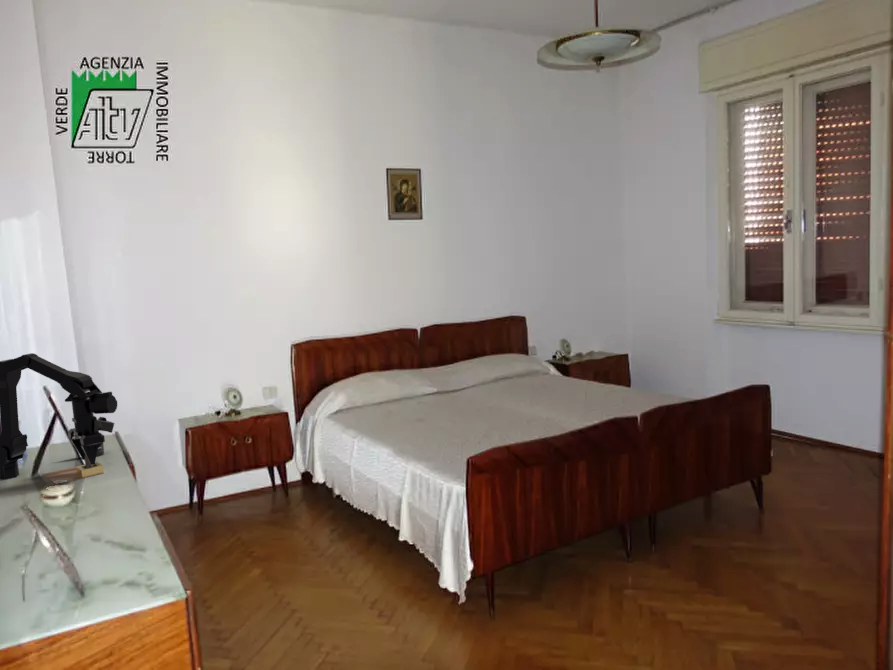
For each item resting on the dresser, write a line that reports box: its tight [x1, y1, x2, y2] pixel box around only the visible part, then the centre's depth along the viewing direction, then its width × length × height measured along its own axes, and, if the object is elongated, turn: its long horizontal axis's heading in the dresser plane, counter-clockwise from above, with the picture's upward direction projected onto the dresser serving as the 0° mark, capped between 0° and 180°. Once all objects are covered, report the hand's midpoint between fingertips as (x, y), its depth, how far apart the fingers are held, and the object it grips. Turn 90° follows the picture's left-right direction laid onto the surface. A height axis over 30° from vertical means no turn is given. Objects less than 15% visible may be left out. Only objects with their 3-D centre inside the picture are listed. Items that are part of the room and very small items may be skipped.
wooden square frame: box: [75, 461, 105, 479], centre depth 226 cm, size 6×6×2 cm
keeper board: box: [41, 455, 105, 483], centre depth 227 cm, size 18×14×8 cm
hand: (88, 461), depth 225 cm, fingers open, 9 cm apart
